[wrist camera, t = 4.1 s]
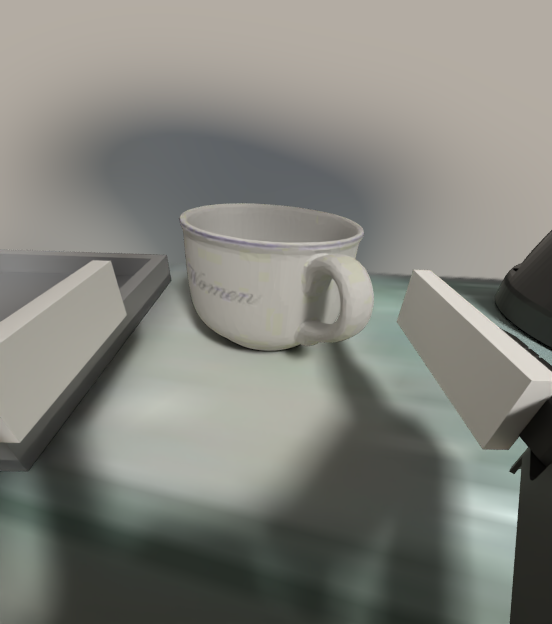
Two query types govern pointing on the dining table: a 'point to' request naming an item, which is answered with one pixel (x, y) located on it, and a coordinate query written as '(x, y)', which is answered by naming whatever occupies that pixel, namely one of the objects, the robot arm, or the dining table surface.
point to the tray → (137, 301)
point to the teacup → (276, 274)
